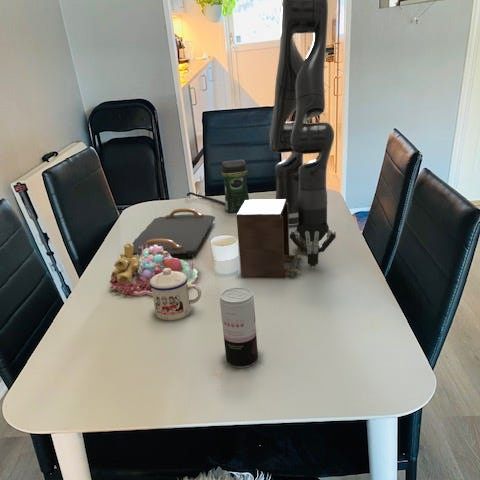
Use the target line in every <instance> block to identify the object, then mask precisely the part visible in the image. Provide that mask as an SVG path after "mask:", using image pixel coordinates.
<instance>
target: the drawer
mask: <svg viewBox="0 0 480 480" xmlns="http://www.w3.org/2000/svg"><path fill="white" fill-rule="evenodd" d="M298 261H302V256H299V253H298V252H295V253H294V254H290V255H284V262H292V264H291V267H290V268H285V276H290V278H294V277H295V274H299V269H297V265H298Z"/></svg>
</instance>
